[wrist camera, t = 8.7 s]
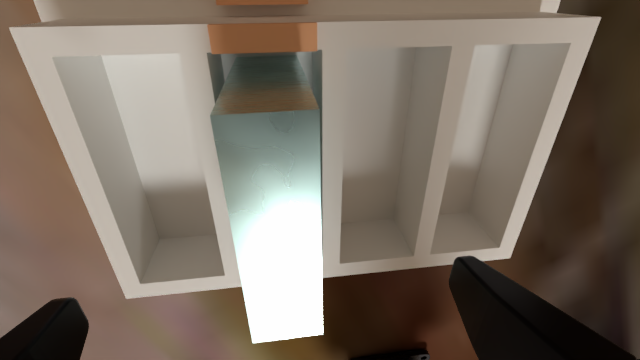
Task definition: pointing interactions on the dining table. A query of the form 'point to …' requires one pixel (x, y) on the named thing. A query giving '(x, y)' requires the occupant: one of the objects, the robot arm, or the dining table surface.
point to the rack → (335, 123)
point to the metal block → (273, 192)
